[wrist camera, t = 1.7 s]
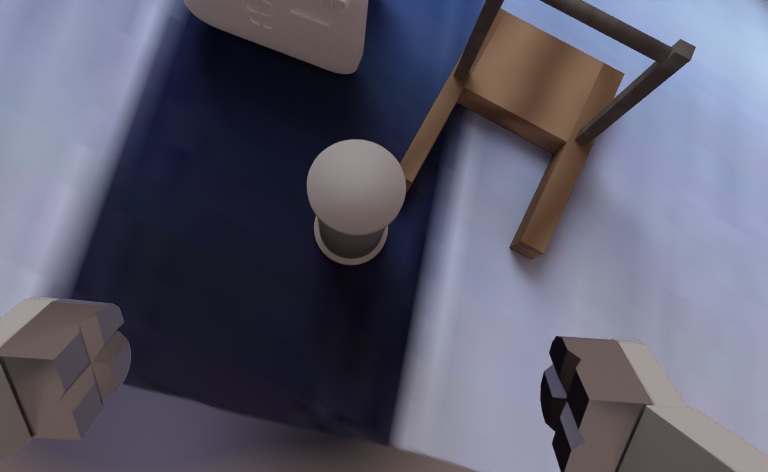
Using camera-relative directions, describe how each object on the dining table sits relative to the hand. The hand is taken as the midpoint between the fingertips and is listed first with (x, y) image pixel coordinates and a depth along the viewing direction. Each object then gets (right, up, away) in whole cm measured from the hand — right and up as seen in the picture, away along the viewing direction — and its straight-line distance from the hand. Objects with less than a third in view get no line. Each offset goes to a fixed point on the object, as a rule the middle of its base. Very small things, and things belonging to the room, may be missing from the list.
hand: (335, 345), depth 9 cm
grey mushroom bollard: (-2, +3, +29) cm, 29 cm away
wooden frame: (+11, +11, +33) cm, 36 cm away
